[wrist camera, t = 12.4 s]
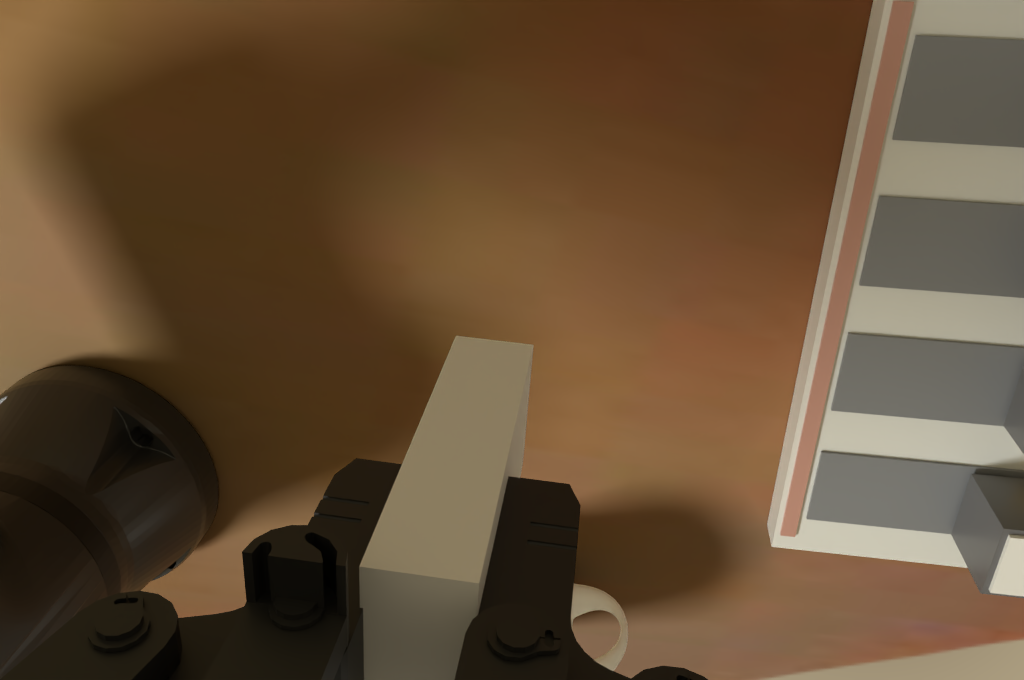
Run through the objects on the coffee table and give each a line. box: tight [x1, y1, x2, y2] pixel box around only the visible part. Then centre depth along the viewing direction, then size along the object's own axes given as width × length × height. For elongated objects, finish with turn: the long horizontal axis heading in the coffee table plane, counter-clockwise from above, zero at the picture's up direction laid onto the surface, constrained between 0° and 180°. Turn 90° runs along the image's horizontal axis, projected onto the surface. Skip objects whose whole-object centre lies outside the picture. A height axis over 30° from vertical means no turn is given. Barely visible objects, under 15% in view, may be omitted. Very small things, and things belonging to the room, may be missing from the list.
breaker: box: [951, 474, 1024, 598], centre depth 43 cm, size 3×4×5 cm
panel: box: [767, 0, 1024, 568], centre depth 42 cm, size 14×30×2 cm, turn 179°
